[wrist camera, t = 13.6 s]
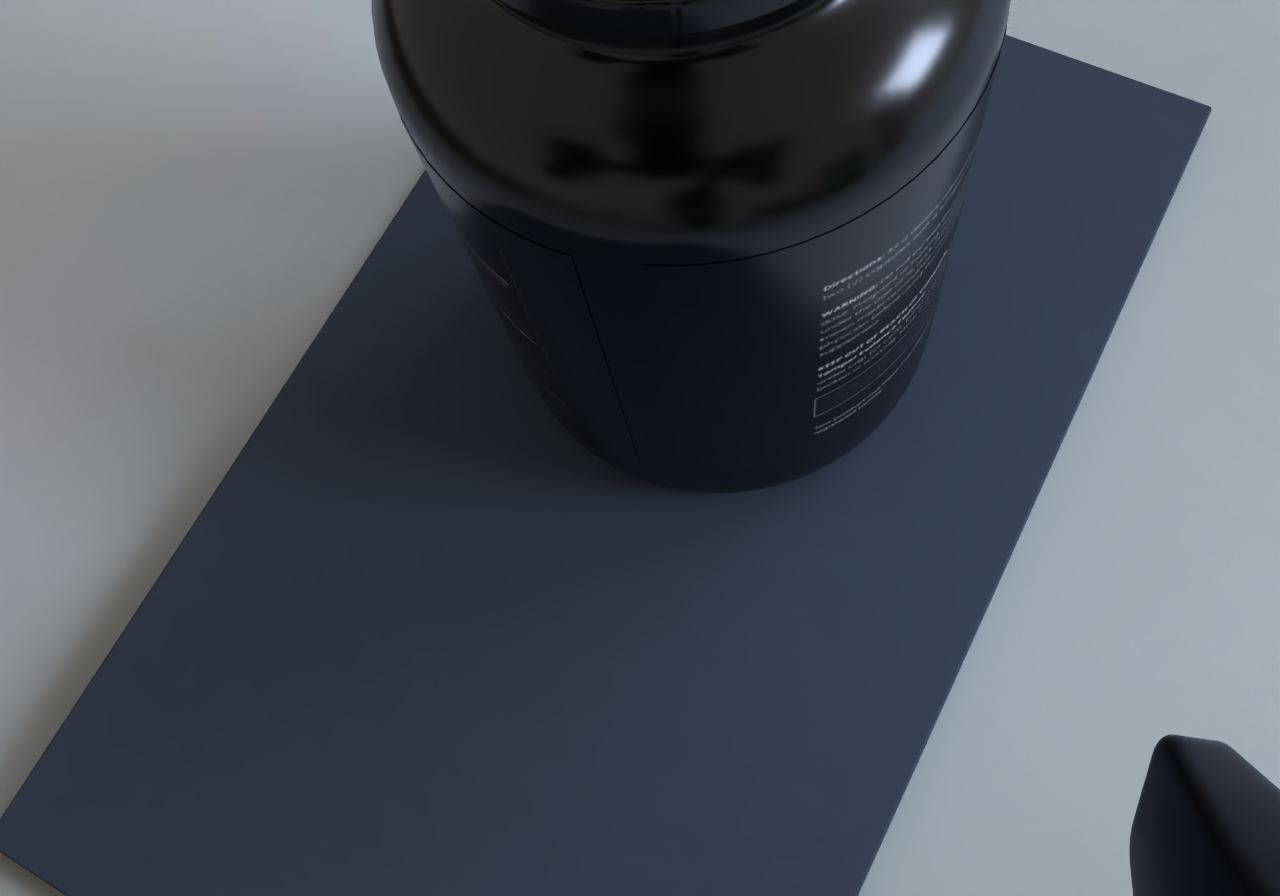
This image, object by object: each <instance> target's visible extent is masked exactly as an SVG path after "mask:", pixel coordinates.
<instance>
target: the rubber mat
mask: <svg viewBox="0 0 1280 896" xmlns="http://www.w3.org/2000/svg"><path fill="white" fill-rule="evenodd" d="M1210 112H1211V107H1210V106H1207V105H1204V104H1201V103H1198V102H1195V101H1193V100H1190V99H1187V98H1184V97H1181V96H1178V95H1176V94H1173V93H1170V92H1167V91H1164V90H1161V89H1158V88H1156V87H1153V86H1150V85H1147V84H1144V83H1141V82H1138V81H1136V80H1133V79H1130V78H1127V77H1124V76H1121V75H1119V74H1116V73H1113V72H1110V71H1107V70H1104V69H1101V68H1099V67H1096V66H1093V65H1090V64H1087V63H1084V62H1082V61H1079V60H1076V59H1073V58H1070V57H1067V56H1064V55H1062V54H1059V53H1056V52H1053V51H1050V50H1047V49H1045V48H1042V47H1039V46H1036V45H1033V44H1030V43H1027V42H1025V41H1022V40H1019V39H1016V38H1013V37H1010V36H1008V35H1005V38H1004V42H1003V47H1002V51H1001V55H1000V59H999V63H998V67H997V71H996V75H995V79H994V83H993V87H992V91H991V95H990V99H989V103H988V106H987V110H986V114H985V118H984V122H983V126H982V130H981V134H980V138H979V142H978V146H977V150H976V154H975V158H974V162H973V166H972V170H971V174H970V178H969V182H968V186H967V190H966V194H965V198H964V202H963V206H962V209H961V213H960V217H959V221H958V225H957V229H956V233H955V237H954V241H953V245H952V249H951V253H950V257H949V261H948V265H947V269H946V273H945V277H944V281H943V285H942V289H941V293H940V297H939V301H938V304H937V308H936V312H935V316H934V320H933V323H932V327H931V329H930V333H929V337H928V340H927V343H926V347H925V350H924V353H923V355H922V358H921V360H920V363H919V365H918V368H917V370H916V372H915V374H914V376H913V378H912V380H911V382H910V384H909V386H908V388H907V390H906V391H905V393H904V394H903V396H902V397H901V399H900V400H899V402H898V403H897V405H896V406H895V408H894V409H893V410H892V411H891V413H890V414H889V415H888V416H887V418H886V419H885V420H884V421H883V422H882V423H881V424H880V425H879V426H878V427H877V428H876V429H875V430H874V431H873V432H872V433H871V434H870V435H869V436H868V437H867V438H866V439H865V440H864V441H862V442H861V443H860V444H859V445H857V446H856V447H855V448H854V449H852V450H851V451H850V452H848V453H847V454H845V455H844V456H842V457H841V458H839V459H837V460H836V461H834V462H833V463H831V464H829V465H827V466H825V467H823V468H821V469H819V470H818V471H816V472H813V473H811V474H809V475H806V476H804V477H801V478H799V479H797V480H794V481H791V482H787V483H784V484H781V485H778V486H774V487H769V488H764V489H760V490H755V491H746V492H738V493H702V492H691V491H685V490H679V489H673V488H669V487H665V486H661V485H658V484H654V483H650V482H648V481H645V480H642V479H640V478H637V477H634V476H632V475H630V474H628V473H625V472H623V471H621V470H619V469H617V468H615V467H613V466H612V465H610V464H609V463H607V462H605V461H604V460H602V459H600V458H599V457H597V456H596V455H595V454H593V453H592V452H591V451H589V450H588V449H587V448H585V447H584V446H583V445H582V444H580V443H579V442H578V441H577V440H576V439H575V438H574V437H573V436H572V435H571V434H570V433H569V432H568V431H567V430H566V429H565V428H564V426H563V425H562V424H561V423H560V422H559V421H558V419H557V418H556V417H555V416H554V415H553V413H552V412H551V411H550V409H549V408H548V406H547V405H546V403H545V402H544V400H543V399H542V397H541V396H540V394H539V392H538V390H537V389H536V387H535V385H534V383H533V381H532V379H531V378H530V376H529V374H528V372H527V371H526V369H525V367H524V365H523V363H522V361H521V359H520V357H519V355H518V353H517V351H516V349H515V347H514V345H513V343H512V341H511V339H510V337H509V335H508V333H507V331H506V329H505V327H504V325H503V323H502V321H501V319H500V317H499V315H498V313H497V311H496V309H495V307H494V305H493V303H492V301H491V299H490V297H489V295H488V293H487V291H486V289H485V287H484V285H483V283H482V281H481V279H480V277H479V275H478V273H477V271H476V269H475V267H474V265H473V263H472V261H471V259H470V257H469V255H468V253H467V251H466V249H465V247H464V245H463V243H462V241H461V239H460V237H459V235H458V233H457V231H456V229H455V227H454V225H453V223H452V221H451V219H450V217H449V215H448V213H447V211H446V209H445V207H444V205H443V203H442V201H441V199H440V197H439V195H438V193H437V191H436V189H435V187H434V185H433V183H432V181H431V179H430V177H429V175H428V173H427V171H426V170H425V171H424V173H423V174H422V176H421V177H420V179H419V180H418V182H417V184H416V185H415V187H414V188H413V190H412V191H411V193H410V194H409V196H408V197H407V199H406V200H405V202H404V203H403V205H402V206H401V208H400V210H399V211H398V213H397V214H396V216H395V217H394V219H393V220H392V222H391V223H390V225H389V226H388V228H387V229H386V231H385V232H384V234H383V235H382V237H381V239H380V240H379V242H378V243H377V245H376V246H375V248H374V249H373V251H372V252H371V254H370V255H369V257H368V258H367V260H366V261H365V263H364V264H363V266H362V268H361V269H360V271H359V272H358V274H357V275H356V277H355V278H354V280H353V281H352V283H351V284H350V286H349V287H348V289H347V290H346V292H345V294H344V295H343V297H342V298H341V300H340V301H339V303H338V304H337V306H336V307H335V309H334V310H333V312H332V313H331V315H330V316H329V318H328V319H327V321H326V323H325V324H324V326H323V327H322V329H321V330H320V332H319V333H318V335H317V336H316V338H315V339H314V341H313V342H312V344H311V345H310V347H309V348H308V350H307V352H306V353H305V355H304V356H303V358H302V359H301V361H300V362H299V364H298V365H297V367H296V368H295V370H294V371H293V373H292V374H291V376H290V378H289V379H288V381H287V382H286V384H285V385H284V387H283V388H282V390H281V391H280V393H279V394H278V396H277V397H276V399H275V400H274V402H273V403H272V405H271V407H270V408H269V410H268V411H267V413H266V414H265V416H264V417H263V419H262V420H261V422H260V423H259V425H258V426H257V428H256V429H255V431H254V433H253V434H252V436H251V437H250V439H249V440H248V442H247V443H246V445H245V446H244V448H243V449H242V451H241V452H240V454H239V455H238V457H237V458H236V460H235V462H234V463H233V465H232V466H231V468H230V469H229V471H228V472H227V474H226V475H225V477H224V478H223V480H222V481H221V483H220V484H219V486H218V487H217V489H216V491H215V492H214V494H213V495H212V497H211V498H210V500H209V501H208V503H207V504H206V506H205V507H204V509H203V510H202V512H201V513H200V515H199V517H198V518H197V520H196V521H195V523H194V524H193V526H192V527H191V529H190V530H189V532H188V533H187V535H186V536H185V538H184V539H183V541H182V542H181V544H180V546H179V547H178V549H177V550H176V552H175V553H174V555H173V556H172V558H171V559H170V561H169V562H168V564H167V565H166V567H165V568H164V570H163V571H162V573H161V575H160V576H159V578H158V579H157V581H156V582H155V584H154V585H153V587H152V588H151V590H150V591H149V593H148V594H147V596H146V597H145V599H144V601H143V602H142V604H141V605H140V607H139V608H138V610H137V611H136V613H135V614H134V616H133V617H132V619H131V620H130V622H129V623H128V625H127V626H126V628H125V630H124V631H123V633H122V634H121V636H120V637H119V639H118V640H117V642H116V643H115V645H114V646H113V648H112V649H111V651H110V652H109V654H108V656H107V657H106V659H105V660H104V662H103V663H102V665H101V666H100V668H99V669H98V671H97V672H96V674H95V675H94V677H93V678H92V680H91V681H90V683H89V685H88V686H87V688H86V689H85V691H84V692H83V694H82V695H81V697H80V698H79V700H78V701H77V703H76V704H75V706H74V707H73V709H72V710H71V712H70V714H69V715H68V717H67V718H66V720H65V721H64V723H63V724H62V726H61V727H60V729H59V730H58V732H57V733H56V735H55V736H54V738H53V740H52V741H51V743H50V744H49V746H48V747H47V749H46V750H45V752H44V753H43V755H42V756H41V758H40V759H39V761H38V762H37V764H36V765H35V767H34V769H33V770H32V772H31V773H30V775H29V776H28V778H27V779H26V781H25V782H24V784H23V785H22V787H21V788H20V790H19V791H18V793H17V794H16V796H15V798H14V799H13V801H12V802H11V804H10V805H9V807H8V808H7V810H6V811H5V813H4V814H3V816H2V817H1V819H0V853H2V854H3V855H5V856H6V857H8V858H9V859H11V860H13V861H14V862H16V863H17V864H19V865H20V866H22V867H23V868H25V869H26V870H28V871H29V872H31V873H32V874H34V875H35V876H37V877H38V878H40V879H42V880H43V881H45V882H46V883H48V884H49V885H51V886H52V887H54V888H55V889H57V890H58V891H60V892H61V893H63V894H64V895H66V896H858V894H859V892H860V890H861V888H862V885H863V883H864V881H865V879H866V876H867V874H868V872H869V870H870V868H871V865H872V863H873V861H874V859H875V856H876V854H877V852H878V850H879V848H880V845H881V843H882V841H883V839H884V836H885V834H886V832H887V830H888V828H889V825H890V823H891V821H892V819H893V816H894V814H895V812H896V810H897V808H898V805H899V803H900V801H901V799H902V796H903V794H904V792H905V790H906V788H907V785H908V783H909V781H910V779H911V776H912V774H913V772H914V770H915V768H916V765H917V763H918V761H919V759H920V756H921V754H922V752H923V750H924V748H925V745H926V743H927V741H928V739H929V736H930V734H931V732H932V730H933V728H934V725H935V723H936V721H937V719H938V716H939V714H940V712H941V710H942V708H943V705H944V703H945V701H946V699H947V696H948V694H949V692H950V690H951V688H952V685H953V683H954V681H955V679H956V676H957V674H958V672H959V670H960V668H961V665H962V663H963V661H964V659H965V657H966V654H967V652H968V650H969V648H970V645H971V643H972V641H973V639H974V637H975V634H976V632H977V630H978V628H979V625H980V623H981V621H982V619H983V617H984V614H985V612H986V610H987V608H988V605H989V603H990V601H991V599H992V597H993V594H994V592H995V590H996V588H997V585H998V583H999V581H1000V579H1001V577H1002V574H1003V572H1004V570H1005V568H1006V565H1007V563H1008V561H1009V559H1010V557H1011V554H1012V552H1013V550H1014V548H1015V545H1016V543H1017V541H1018V539H1019V537H1020V534H1021V532H1022V530H1023V528H1024V525H1025V523H1026V521H1027V519H1028V517H1029V514H1030V512H1031V510H1032V508H1033V505H1034V503H1035V501H1036V499H1037V497H1038V494H1039V492H1040V490H1041V488H1042V485H1043V483H1044V481H1045V479H1046V477H1047V474H1048V472H1049V470H1050V468H1051V465H1052V463H1053V461H1054V459H1055V457H1056V454H1057V452H1058V450H1059V448H1060V445H1061V443H1062V441H1063V439H1064V437H1065V434H1066V432H1067V430H1068V428H1069V425H1070V423H1071V421H1072V419H1073V417H1074V414H1075V412H1076V410H1077V408H1078V405H1079V403H1080V401H1081V399H1082V397H1083V394H1084V392H1085V390H1086V388H1087V385H1088V383H1089V381H1090V379H1091V377H1092V374H1093V372H1094V370H1095V368H1096V365H1097V363H1098V361H1099V359H1100V357H1101V354H1102V352H1103V350H1104V348H1105V345H1106V343H1107V341H1108V339H1109V337H1110V334H1111V332H1112V330H1113V328H1114V326H1115V323H1116V321H1117V319H1118V317H1119V314H1120V312H1121V310H1122V308H1123V306H1124V303H1125V301H1126V299H1127V297H1128V294H1129V292H1130V290H1131V288H1132V286H1133V283H1134V281H1135V279H1136V277H1137V274H1138V272H1139V270H1140V268H1141V266H1142V263H1143V261H1144V259H1145V257H1146V254H1147V252H1148V250H1149V248H1150V246H1151V243H1152V241H1153V239H1154V237H1155V234H1156V232H1157V230H1158V228H1159V226H1160V223H1161V221H1162V219H1163V217H1164V214H1165V212H1166V210H1167V208H1168V206H1169V203H1170V201H1171V199H1172V197H1173V194H1174V192H1175V190H1176V188H1177V186H1178V183H1179V181H1180V179H1181V177H1182V174H1183V172H1184V170H1185V168H1186V166H1187V163H1188V161H1189V159H1190V157H1191V154H1192V152H1193V150H1194V148H1195V146H1196V143H1197V141H1198V139H1199V137H1200V134H1201V132H1202V130H1203V128H1204V126H1205V123H1206V121H1207V119H1208V117H1209V114H1210Z"/></svg>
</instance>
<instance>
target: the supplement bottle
mask: <svg viewBox="0 0 1280 896" xmlns="http://www.w3.org/2000/svg"><path fill="white" fill-rule="evenodd" d="M1010 1H1011V0H372V19H373V27H374V35H375V43H376V48H377V52H378V56H379V60H380V64H381V68H382V71H383V74H384V76H385V79H386V82H387V84H388V87H389V89H390V92H391V94H392V97H393V100H394V102H395V105H396V107H397V109H398V112H399V114H400V117H401V120H402V122H403V124H404V126H405V128H406V130H407V132H408V134H409V136H410V138H411V140H412V142H413V144H414V146H415V148H416V150H417V152H418V154H419V156H420V158H421V161H422V163H423V165H424V167H425V169H426V171H427V173H428V175H429V177H430V179H431V181H432V183H433V185H434V187H435V189H436V191H437V193H438V195H439V197H440V199H441V201H442V203H443V205H444V207H445V209H446V211H447V213H448V215H449V217H450V219H451V221H452V223H453V225H454V227H455V229H456V231H457V233H458V235H459V237H460V239H461V241H462V243H463V245H464V247H465V249H466V251H467V253H468V255H469V257H470V259H471V261H472V263H473V265H474V267H475V269H476V271H477V273H478V275H479V277H480V279H481V281H482V283H483V285H484V287H485V289H486V291H487V293H488V295H489V297H490V299H491V301H492V303H493V305H494V307H495V309H496V311H497V313H498V315H499V317H500V319H501V321H502V323H503V325H504V327H505V329H506V331H507V333H508V335H509V337H510V339H511V341H512V343H513V345H514V347H515V349H516V351H517V353H518V355H519V357H520V359H521V361H522V363H523V365H524V367H525V369H526V371H527V372H528V374H529V376H530V378H531V379H532V381H533V383H534V385H535V387H536V389H537V390H538V392H539V394H540V396H541V397H542V399H543V400H544V402H545V403H546V405H547V406H548V408H549V409H550V411H551V412H552V413H553V415H554V416H555V417H556V418H557V419H558V421H559V422H560V423H561V424H562V425H563V426H564V428H565V429H566V430H567V431H568V432H569V433H570V434H571V435H572V436H573V437H574V438H575V439H576V440H577V441H578V442H579V443H580V444H582V445H583V446H584V447H585V448H587V449H588V450H589V451H591V452H592V453H593V454H595V455H596V456H597V457H599V458H600V459H602V460H604V461H605V462H607V463H609V464H610V465H612V466H613V467H615V468H617V469H619V470H621V471H623V472H625V473H628V474H630V475H632V476H634V477H637V478H640V479H642V480H645V481H648V482H650V483H654V484H658V485H661V486H665V487H669V488H673V489H679V490H685V491H691V492H702V493H738V492H746V491H755V490H760V489H764V488H769V487H774V486H778V485H781V484H784V483H787V482H791V481H794V480H797V479H799V478H801V477H804V476H806V475H809V474H811V473H813V472H816V471H818V470H819V469H821V468H823V467H825V466H827V465H829V464H831V463H833V462H834V461H836V460H837V459H839V458H841V457H842V456H844V455H845V454H847V453H848V452H850V451H851V450H852V449H854V448H855V447H856V446H857V445H859V444H860V443H861V442H862V441H864V440H865V439H866V438H867V437H868V436H869V435H870V434H871V433H872V432H873V431H874V430H875V429H876V428H877V427H878V426H879V425H880V424H881V423H882V422H883V421H884V420H885V419H886V418H887V416H888V415H889V414H890V413H891V411H892V410H893V409H894V408H895V406H896V405H897V403H898V402H899V400H900V399H901V397H902V396H903V394H904V393H905V391H906V390H907V388H908V386H909V384H910V382H911V380H912V378H913V376H914V374H915V372H916V370H917V368H918V365H919V363H920V360H921V358H922V355H923V353H924V350H925V347H926V343H927V340H928V337H929V333H930V329H931V327H932V323H933V320H934V316H935V312H936V308H937V304H938V301H939V297H940V293H941V289H942V285H943V281H944V277H945V273H946V269H947V265H948V261H949V257H950V253H951V249H952V245H953V241H954V237H955V233H956V229H957V225H958V221H959V217H960V213H961V209H962V206H963V202H964V198H965V194H966V190H967V186H968V182H969V178H970V174H971V170H972V166H973V162H974V158H975V154H976V150H977V146H978V142H979V138H980V134H981V130H982V126H983V122H984V118H985V114H986V110H987V106H988V103H989V99H990V95H991V91H992V87H993V83H994V79H995V75H996V71H997V67H998V63H999V59H1000V55H1001V51H1002V47H1003V42H1004V38H1005V34H1006V28H1007V21H1008V15H1009V8H1010Z"/></svg>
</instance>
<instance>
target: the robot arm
mask: <svg viewBox="0 0 1280 896" xmlns="http://www.w3.org/2000/svg"><path fill="white" fill-rule="evenodd" d="M1130 868H1131V878H1132V888H1133V896H1280V789H1278V788H1277V787H1276V786H1275V785H1274V784H1273V783H1272V782H1270V781H1269V780H1268V779H1267V778H1266V777H1265V776H1264V775H1262V774H1261V773H1260V772H1259V771H1258V770H1257V769H1256V768H1254V767H1253V766H1252V765H1251V764H1250V763H1249V762H1248V761H1246V760H1245V759H1244V758H1243V757H1242V756H1241V755H1240V754H1238V753H1237V752H1236V751H1235V750H1234V749H1232V748H1231V747H1230V746H1228V745H1227V744H1225V743H1223V742H1220V741H1214V740H1207V739H1200V738H1193V737H1186V736H1179V735H1167V736H1165V737H1163V738H1161V739H1160V740H1159V742H1158V743H1157V745H1156V747H1155V748H1154V751H1153V754H1152V757H1151V761H1150V764H1149V768H1148V771H1147V775H1146V778H1145V782H1144V785H1143V789H1142V792H1141V796H1140V799H1139V803H1138V806H1137V810H1136V813H1135V817H1134V820H1133V824H1132V829H1131V836H1130Z"/></svg>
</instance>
